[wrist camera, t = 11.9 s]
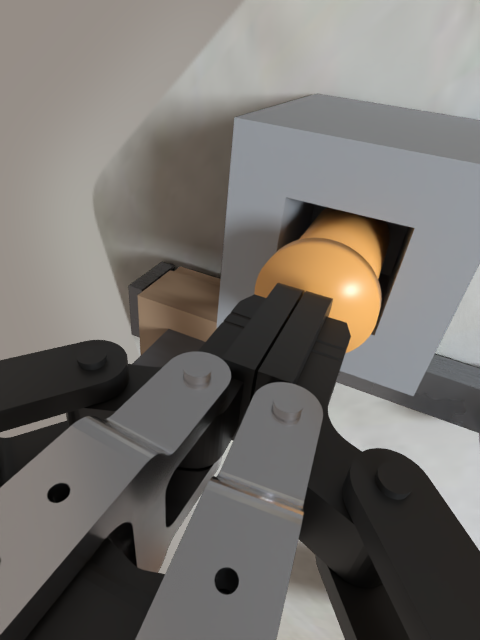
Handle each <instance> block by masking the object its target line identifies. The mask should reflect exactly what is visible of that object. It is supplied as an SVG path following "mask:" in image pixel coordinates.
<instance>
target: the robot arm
mask: <svg viewBox="0 0 480 640" xmlns="http://www.w3.org/2000/svg"><path fill="white" fill-rule="evenodd" d="M332 302H333V298H329V297H326V296H322V295H319V294H316V293H312V292H309V291H306V292H305V291H304V290H302V289H298V288H295V287H292V286H288V285H285V284H281V283H277V284H276V286H275V287H274V288H273V290H272V291H271V292H270V294H269V295H268V296H267V298H265V297H261V296H258V295H255V294H254V295H252V296H250V297H248V298H245V299H243V300H241V301H239V303H238V304H237V305H236V306H235V307H234V309H233V310H232V311H231V313H230V314H229V315H228V316H227V317H226V318H225V319H224V322H222V323H221V324H220V325H219V327H218V328H217V329H216V330H215V331H214V333H213V334H212V335H211V336H210V337H209V338H208V340H207V341H206V342H205V343H204V344H203V346H202V347H201V348H200V349H199V350H198V352H187V353H183V354H180V355H178V356H176V357H174V358H173V359H171V360H170V361H169V362H168V363H167V364H166V365H165V366H164V367H150V366H141V365H132V364H128V360H127V354H126V352H125V351H124V349H123V348H122V347H121V346H119V345H118V344H115V343H113V342H110V341H105V340H90V341H84V342H80V343H76V344H71V345H67V346H62V347H58V348H53V349H49V350H44V351H40V352H36V353H31V354H27V355H22V356H18V357H13V358H9V359H4V360H1V361H0V432H3V431H6V430H10V429H13V428H16V427H20V426H23V425H26V424H30V423H33V422H37V421H40V420H44V419H47V418H50V417H53V416H57V415H60V414H64V413H66V416H67V421H65V422H61V423H58V424H54V425H51V426H48V427H44V428H41V429H38V430H34V431H31V432H28V433H24V434H21V435H18V436H14V437H11V438H0V640H276V639H277V635H278V630H279V625H280V621H281V616H282V612H283V607H284V603H285V598H286V594H287V589H288V584H289V580H290V575H291V571H292V566H293V562H294V557H295V553H296V548H297V543H298V539H299V540H300V541H301V542H302V543H304V544H305V545H306V546H307V547H308V548H309V549H310V550H311V551H312V552H313V553H314V554H316V563H317V567H318V570H319V572H320V575H321V578H322V580H323V583H324V586H325V588H326V591H327V593H328V596H329V599H330V601H331V604H332V607H333V609H334V612H335V614H336V617H337V620H338V622H339V625H340V627H341V630H342V633H343V635H344V638H345V640H480V551H479V550H478V548H477V547H476V545H475V544H474V542H473V541H472V539H471V538H470V537H469V535H468V534H467V532H466V531H465V529H464V528H463V526H462V525H461V524H460V522H459V521H458V519H457V518H456V516H455V515H454V514H453V512H452V511H451V509H450V508H449V506H448V505H447V503H446V502H445V501H444V499H443V498H442V496H441V495H440V493H439V492H438V490H437V489H436V488H435V486H434V485H433V483H432V482H431V480H430V479H429V477H428V476H427V475H426V474H425V472H424V471H423V470H422V469H421V468H420V467H419V466H418V465H417V464H416V463H414V462H413V461H412V460H411V459H409V458H407V457H406V456H404V455H402V454H400V453H398V452H395V451H392V450H388V449H381V448H375V449H369V450H365V451H363V452H362V451H360V450H359V449H357V448H356V447H354V446H353V445H352V444H350V443H349V442H348V441H346V440H345V439H344V438H343V437H342V436H341V435H340V434H339V433H338V432H337V431H336V430H335V428H334V427H333V425H332V423H331V421H330V419H329V416H328V405H329V402H330V399H331V396H332V393H333V390H334V387H335V384H336V381H337V378H338V375H339V372H340V369H341V366H342V362H343V359H344V356H345V353H346V350H347V347H348V344H349V341H350V338H351V335H350V332H349V328H348V325H347V323H346V322H343V321H340V320H336V319H333V318H330V317H329V314H330V310H331V307H332ZM231 440H234V441H233V443H232V445H231V448H230V450H229V452H228V455H227V457H226V459H225V461H224V464H223V466H222V468H221V470H220V472H219V474H218V476H217V477H215V476H214V474H215V473H216V471H217V470H218V468H219V466H220V464H221V459H222V455H223V453H224V452H225V450H226V448H227V446H228V445H229V443H230V441H231ZM201 494H202V495H201ZM200 496H201V497H200ZM199 497H200V500H199V502H198V504H197V506H196V508H195V510H194V513H193V515H192V517H191V519H190V521H189V524H188V526H187V528H186V530H185V533H184V534H183V537H182V539H181V541H180V543H179V545H178V548H177V550H176V552H175V554H174V556H173V558H172V561H171V563H170V565H169V567H168V569H167V572H166V574H161V573H158V572H159V570H160V568H161V566H162V564H163V561H164V559H165V556H166V553H167V550H168V547H169V545H170V543H171V541H172V538H173V537H174V535H175V533H176V532H177V530H178V529H179V527H180V526H181V524H182V523H183V521H184V519H185V518H186V517H187V515H188V514H189V512H190V511H191V509H192V508H193V506H194V505H195V503H196V502H197V500H198V499H199Z"/></svg>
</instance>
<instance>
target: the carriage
mask: <svg viewBox="0 0 480 640" xmlns="http://www.w3.org/2000/svg"><path fill="white" fill-rule="evenodd" d="M220 281H221V279H219V278H216V277H212V276H209V275H206V274H203V273H200V272H196V271H193V270H190V269H187V268H184V267H179V268H178V269H176V270H175V271H171V270H170V271H169V272H167V273H166V274H165V275H163V276H162V277H161V278H160V279H158V280H157V281H156V282H154V283H153V284H152V285H150V286H149V287H148V288H147V289H145V290H144V291H143V292H141V293H140V294H139V295H138V313H139V332H140V351H141V356H140V357H139V358H138V359H137V360H136V361H135V362H134V363H133V364H132V365H141V366H150V367H164V366H165V365H166V364H167V363H168V362H169V361H170V360H171V359H173V358H174V357H176V356H178V355H180V354H183V353H187V352H198V350H199V349H200V348H201V347H202V346H203V344H204V343H205V342H206V341H207V340H208V338H209V337H210V336H211V335H212V334H213V333H214V331H215V330H216V329H217V328H216V327H217V316H218V304H219V292H220Z"/></svg>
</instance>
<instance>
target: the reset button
mask: <svg viewBox="0 0 480 640" xmlns="http://www.w3.org/2000/svg"><path fill="white" fill-rule="evenodd" d="M389 241H390V233H389V228H388V225H387V223H386V221H383V220H379V219H375V218H370V217H366V216H362V215H358V214H354V213H350V212H345V211H341V210H337V209H333V208H329V207H327V208H325V209H324V210H323V211H322V212H321V213H320V214H319V215H318V217H317V218H316V219H315V220H314V221H313V223H312V224H311V225H310V226H309V228H308V229H307V230H306V231H305V233H304V234H303V235H302V236H301V237H300V239H299V240H296V241H293V242H291V243H289V244H287V245H285V246H283V247H282V248H280V249H279V250H278V251H277V252H276V253H275V254H274V255H273V256H272V257H271V258H270V259H269V260H268V261H267V263H266V264H265V265H264V266H263V268H262V269H261V271H260V273H259V275H258V277H257V280H256V284H255V293H254V294H255V295H258V296H261V297H265V298H267V296H268V295H269V294H270V292H271V291H272V290H273V288H274V287H275V286H276V284H277V283H281V284H285V285H288V286H292V287H295V288H298V289H302V290H304V291H305V292H306V291H309V292H312V293H316V294H319V295H322V296H326V297H329V298H333V302H332V307H331V310H330V314H329V317H330V318H333V319H336V320H340V321H343V322H346V323H347V325H348V328H349V332H350V335H351V338H350V341H349V344H348V347H347V350H346V353H348V352H350V351H352V350H354V349H356V348H357V347H359V346H360V345H361V344H363V343H364V342H365V341H366V340H367V339H368V338H369V336H370V335H371V333H372V332H373V330H374V328H375V325H376V322H377V319H378V315H379V311H380V308H381V300H382V298H381V288H380V284H379V281H378V278H379V275H380V272H381V269H382V266H383V262H384V259H385V256H386V253H387V250H388V246H389Z"/></svg>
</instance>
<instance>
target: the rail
mask: <svg viewBox="0 0 480 640" xmlns="http://www.w3.org/2000/svg"><path fill="white" fill-rule="evenodd" d="M170 270H171V271H174V265H171V264H168V263H165V262H161V263H159V264H158V265H157V266H155V267H154V268H152V269H151V270H150V271H148V272H147V273H146V274H144V275H143V276H141V277H140V278H139V279H137V280H136V281H134V282H133V283H132V284H130V285H129V286H128V287H129V302H130V317H131V331H132V335H135V336H137V337H140V332H139V313H138V295H139V294H140V293H141V292H143V291H144V290H145V289H147V288H148V287H149V286H150V285H152V284H153V283H154V282H156V281H157V280H158V279H160V278H161V277H162V276H163V275H165V274H166V273H167V272H169V271H170ZM336 382H338V383H340V384H343V385H346V386H349V387H352V388H355V389H357V390H360V391H363V392H366V393H369V394H371V395H374V396H377V397H380V398H383V399H385V400H388V401H391V402H394V403H397V404H399V405H402V406H405V407H408V408H411V409H413V410H416V411H419V412H422V413H425V414H427V415H430V416H433V417H436V418H439V419H441V420H444V421H447V422H450V423H453V424H455V425H458V426H461V427H464V428H467V429H469V430H472V431H475V432H478V433H479V441H480V368H477V367H474V366H471V365H467V364H464V363H461V362H458V361H455V360H452V359H448V358H445V357H442V356H439V355H436V354H434V356H433V358H432V360H431V362H430V364H429V366H428V368H427V370H426V372H425V374H424V376H423V378H422V380H421V382H420V384H419V386H418V388H417V390H416V392H415V394H414V396H411V395H408V394H405V393H402V392H399V391H397V390H394V389H391V388H388V387H385V386H382V385H379V384H377V383H374V382H371V381H368V380H365V379H362V378H359V377H356V376H354V375H351V374H348V373H345V372H342V371H340V372H339V375H338V378H337V381H336Z"/></svg>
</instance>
